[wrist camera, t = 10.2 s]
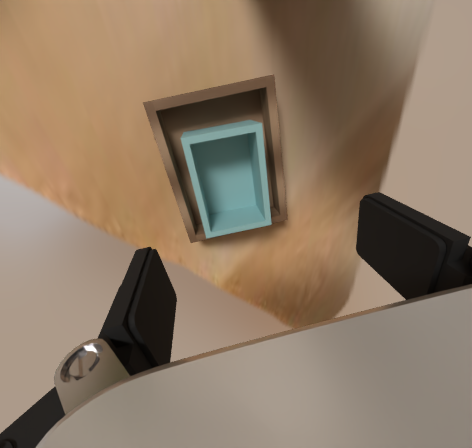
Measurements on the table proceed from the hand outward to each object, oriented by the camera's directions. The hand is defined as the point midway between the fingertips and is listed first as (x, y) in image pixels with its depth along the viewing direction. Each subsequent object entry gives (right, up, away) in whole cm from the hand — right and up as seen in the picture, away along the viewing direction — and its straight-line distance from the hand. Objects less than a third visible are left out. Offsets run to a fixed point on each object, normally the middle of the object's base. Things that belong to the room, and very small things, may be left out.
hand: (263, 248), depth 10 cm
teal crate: (-2, +7, +16) cm, 17 cm away
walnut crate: (-3, +8, +16) cm, 18 cm away
